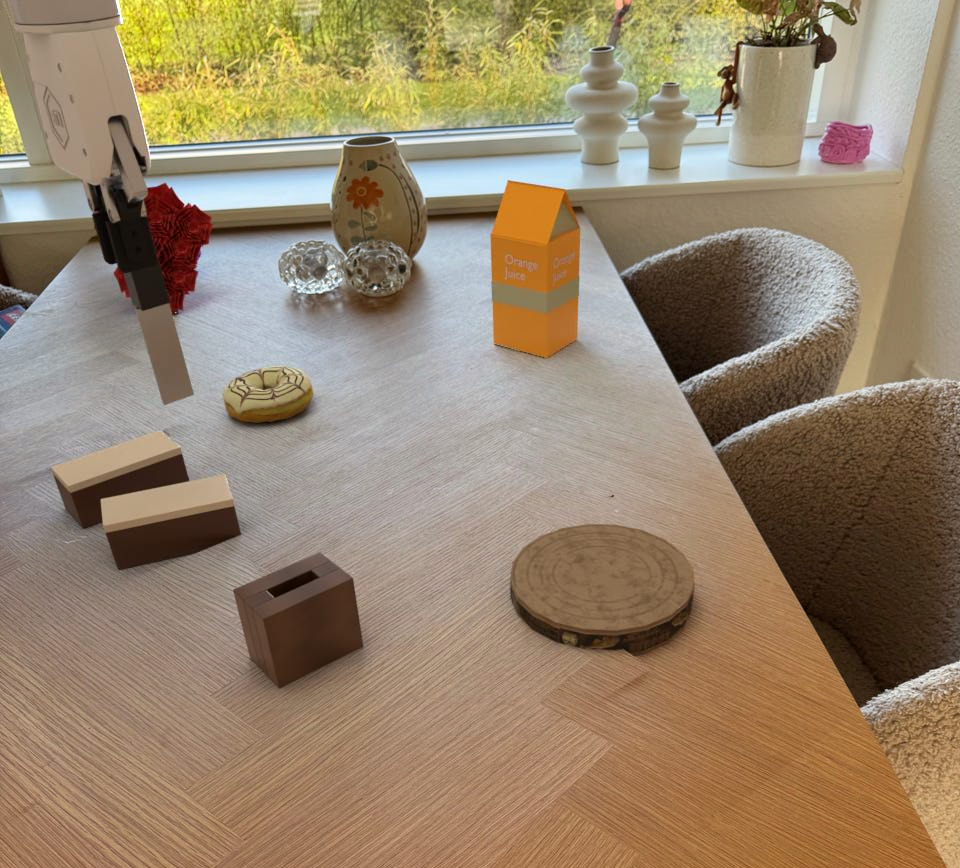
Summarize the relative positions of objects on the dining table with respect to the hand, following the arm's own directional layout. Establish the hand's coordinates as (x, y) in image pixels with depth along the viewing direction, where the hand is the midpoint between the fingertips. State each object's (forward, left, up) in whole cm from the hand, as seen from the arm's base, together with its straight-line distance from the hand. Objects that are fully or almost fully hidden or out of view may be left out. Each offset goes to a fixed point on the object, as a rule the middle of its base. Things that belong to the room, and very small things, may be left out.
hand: (131, 262), depth 80 cm
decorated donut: (+19, +19, -26) cm, 38 cm away
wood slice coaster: (+22, -36, -26) cm, 49 cm away
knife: (+1, 0, -13) cm, 13 cm away
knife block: (-2, -26, -26) cm, 37 cm away
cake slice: (-3, -1, -26) cm, 26 cm away
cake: (-3, +10, -26) cm, 28 cm away
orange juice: (+56, +12, -26) cm, 63 cm away
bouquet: (+28, +72, -26) cm, 81 cm away
